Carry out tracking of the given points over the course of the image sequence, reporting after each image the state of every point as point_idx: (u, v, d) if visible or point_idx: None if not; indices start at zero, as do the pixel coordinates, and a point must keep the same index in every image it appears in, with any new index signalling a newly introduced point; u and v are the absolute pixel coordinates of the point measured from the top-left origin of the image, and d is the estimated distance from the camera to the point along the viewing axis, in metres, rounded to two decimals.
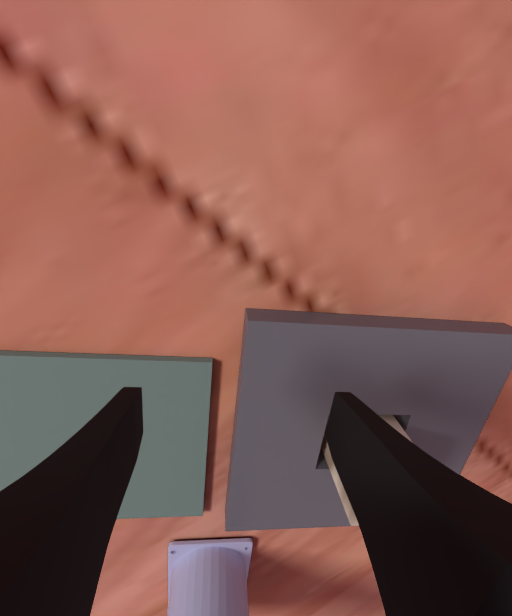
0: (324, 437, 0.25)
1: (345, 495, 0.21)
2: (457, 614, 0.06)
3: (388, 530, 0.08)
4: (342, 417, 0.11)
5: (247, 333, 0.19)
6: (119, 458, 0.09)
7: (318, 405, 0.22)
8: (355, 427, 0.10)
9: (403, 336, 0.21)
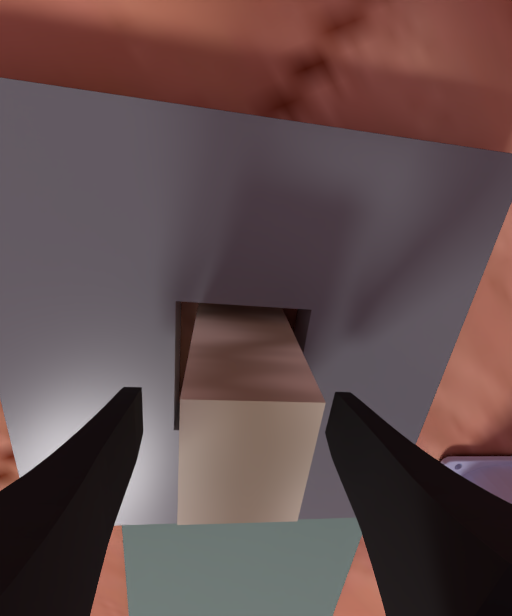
0: None
1: None
2: (457, 614, 0.06)
3: (388, 530, 0.08)
4: (342, 417, 0.11)
5: None
6: (119, 458, 0.09)
7: (157, 445, 0.15)
8: (355, 427, 0.10)
9: (4, 353, 0.12)
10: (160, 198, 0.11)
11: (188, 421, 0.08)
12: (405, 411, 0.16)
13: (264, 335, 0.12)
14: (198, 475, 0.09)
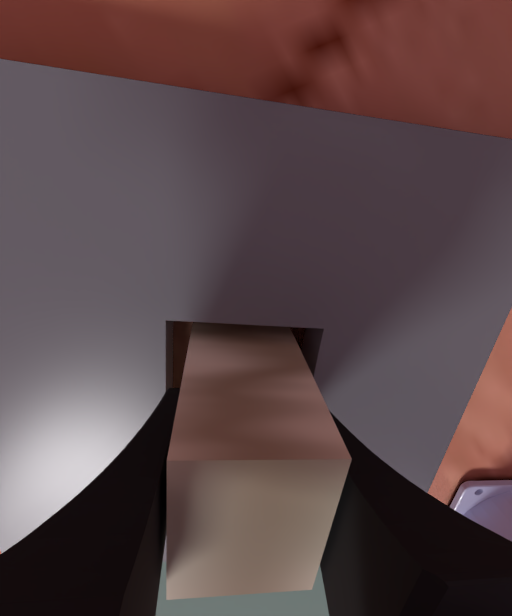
0: None
1: None
2: None
3: (333, 532, 0.08)
4: None
5: None
6: None
7: None
8: None
9: None
10: (145, 200, 0.09)
11: (178, 485, 0.07)
12: (426, 438, 0.14)
13: (269, 361, 0.10)
14: (192, 545, 0.07)
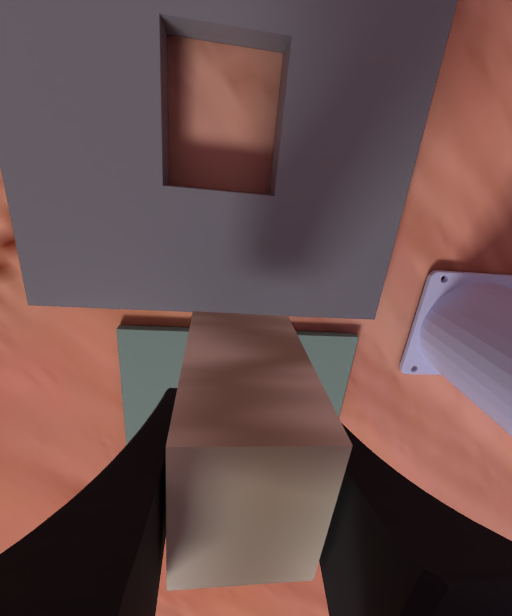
0: None
1: None
2: None
3: (333, 532, 0.08)
4: None
5: (46, 304, 0.17)
6: None
7: (147, 204, 0.15)
8: None
9: None
10: None
11: (177, 472, 0.07)
12: (388, 179, 0.16)
13: (270, 352, 0.10)
14: (192, 534, 0.07)
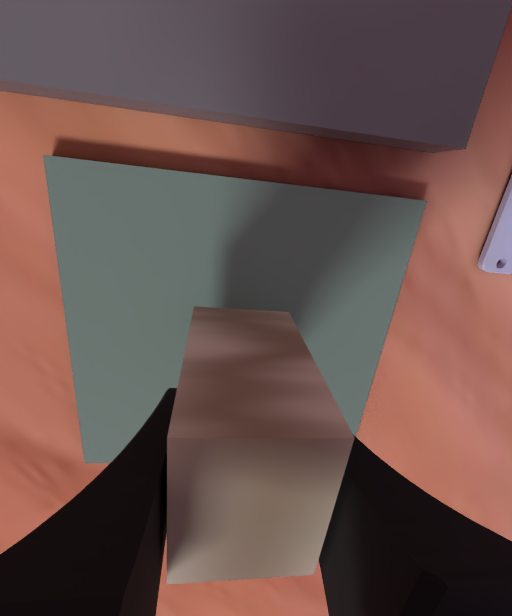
0: None
1: None
2: None
3: (333, 532, 0.08)
4: None
5: None
6: None
7: None
8: None
9: None
10: None
11: (178, 464, 0.07)
12: None
13: (271, 346, 0.10)
14: (192, 527, 0.07)
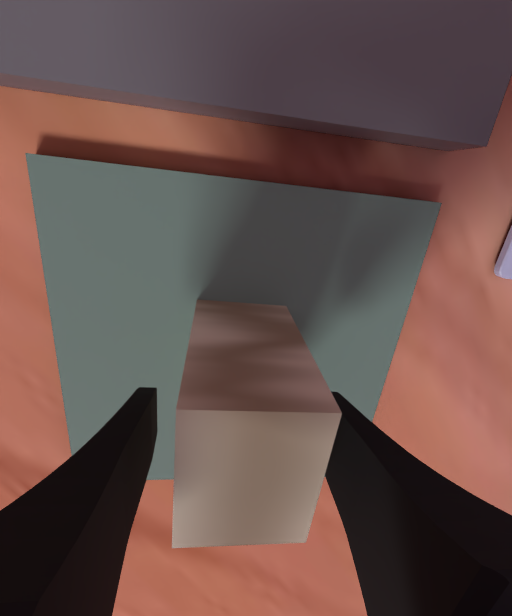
0: None
1: None
2: None
3: (370, 531, 0.08)
4: None
5: None
6: (138, 457, 0.09)
7: None
8: (340, 427, 0.10)
9: None
10: None
11: (185, 433, 0.07)
12: None
13: (269, 336, 0.11)
14: (197, 494, 0.08)
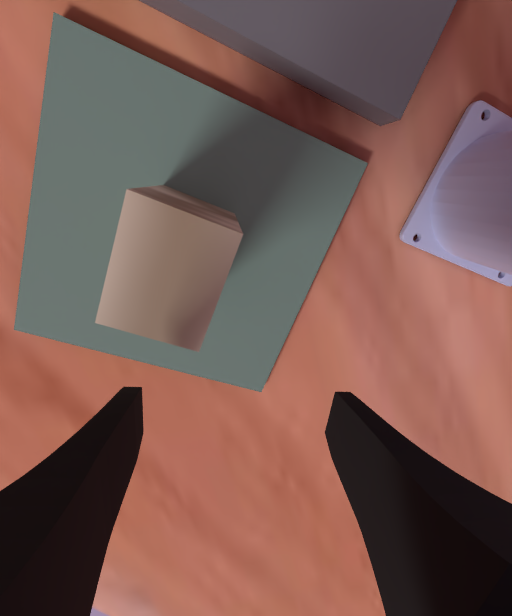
0: None
1: None
2: (457, 614, 0.06)
3: (388, 530, 0.08)
4: (342, 417, 0.11)
5: None
6: (119, 458, 0.09)
7: None
8: (355, 427, 0.10)
9: None
10: None
11: (128, 213, 0.10)
12: None
13: (211, 210, 0.14)
14: (125, 274, 0.11)
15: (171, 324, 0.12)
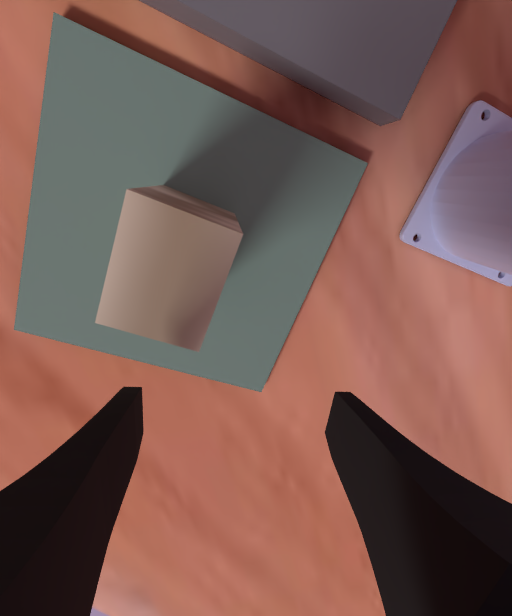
0: None
1: None
2: (457, 614, 0.06)
3: (388, 530, 0.08)
4: (342, 417, 0.11)
5: None
6: (119, 458, 0.09)
7: None
8: (355, 427, 0.10)
9: None
10: None
11: (128, 213, 0.10)
12: None
13: (211, 210, 0.14)
14: (125, 274, 0.11)
15: (171, 324, 0.12)
